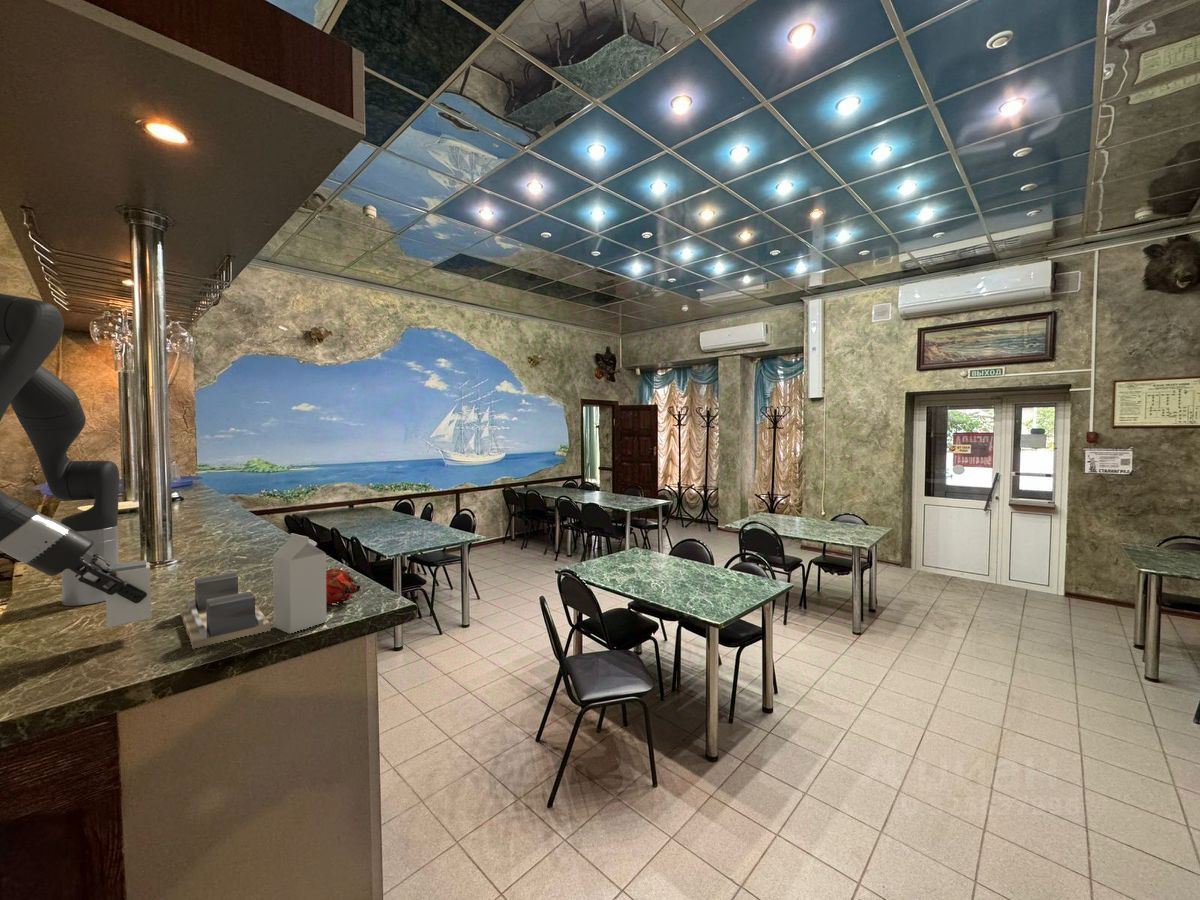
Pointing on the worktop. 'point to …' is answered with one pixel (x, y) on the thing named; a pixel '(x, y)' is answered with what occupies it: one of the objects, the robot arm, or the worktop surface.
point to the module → (122, 608)
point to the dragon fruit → (339, 585)
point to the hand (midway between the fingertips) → (142, 594)
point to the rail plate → (221, 612)
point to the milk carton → (299, 585)
